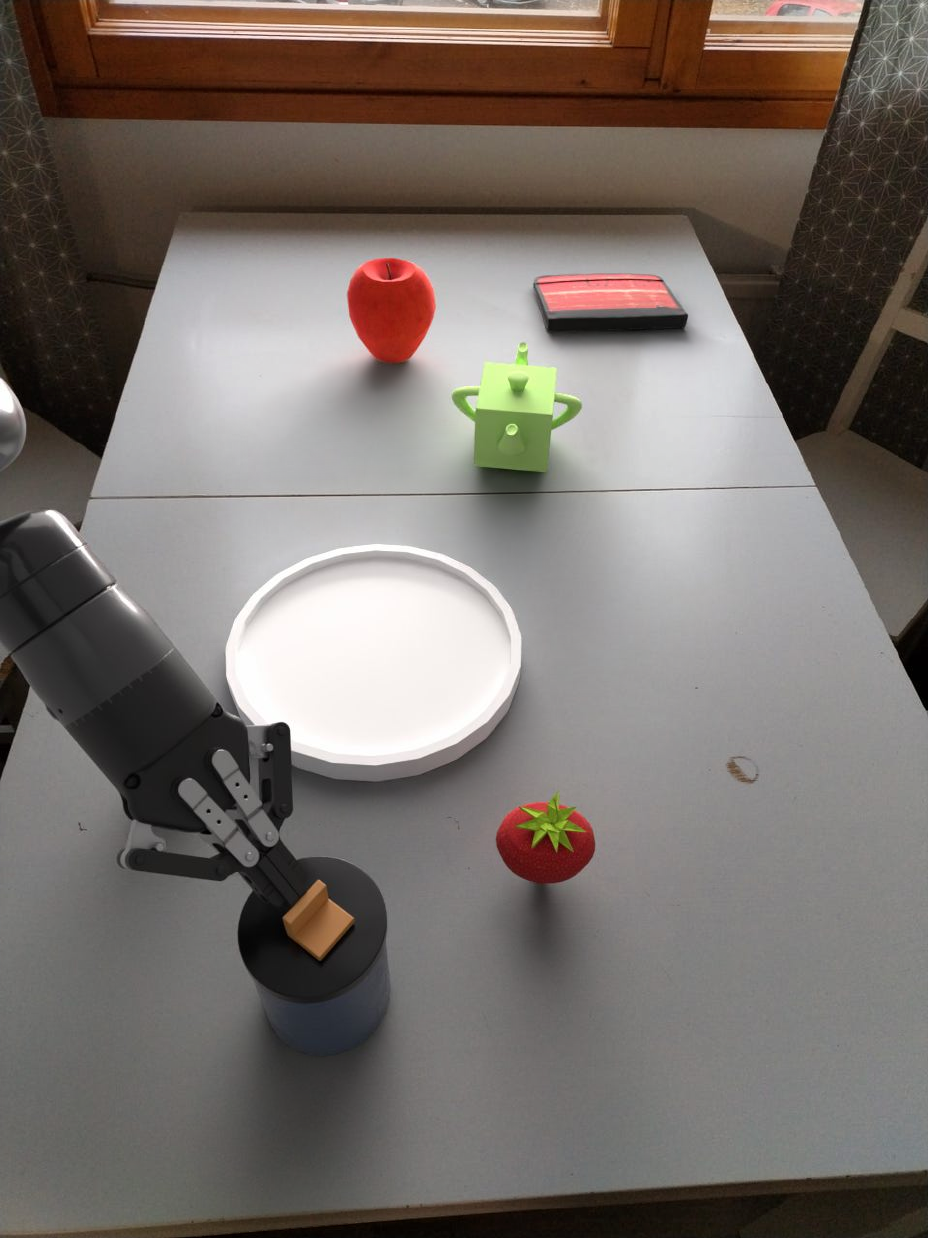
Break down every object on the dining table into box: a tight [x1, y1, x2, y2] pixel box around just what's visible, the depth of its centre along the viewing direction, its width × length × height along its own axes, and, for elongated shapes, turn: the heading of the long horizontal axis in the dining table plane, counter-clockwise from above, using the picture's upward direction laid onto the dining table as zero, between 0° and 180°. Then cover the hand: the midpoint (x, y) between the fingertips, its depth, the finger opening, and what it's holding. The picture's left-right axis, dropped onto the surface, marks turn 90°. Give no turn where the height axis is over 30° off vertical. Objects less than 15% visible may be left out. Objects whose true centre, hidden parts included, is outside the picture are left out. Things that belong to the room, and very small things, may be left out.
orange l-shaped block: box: [283, 880, 354, 961], centre depth 55 cm, size 3×3×2 cm
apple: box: [346, 257, 437, 364], centre depth 121 cm, size 12×12×13 cm
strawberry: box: [495, 789, 596, 885], centre depth 67 cm, size 6×8×10 cm
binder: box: [532, 272, 689, 333], centre depth 136 cm, size 16×2×21 cm
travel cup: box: [236, 855, 391, 1057], centre depth 60 cm, size 9×9×11 cm
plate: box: [225, 543, 522, 783], centre depth 85 cm, size 28×28×2 cm
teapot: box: [451, 341, 583, 473], centre depth 107 cm, size 15×13×11 cm
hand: (294, 898), depth 56 cm, fingers closed
